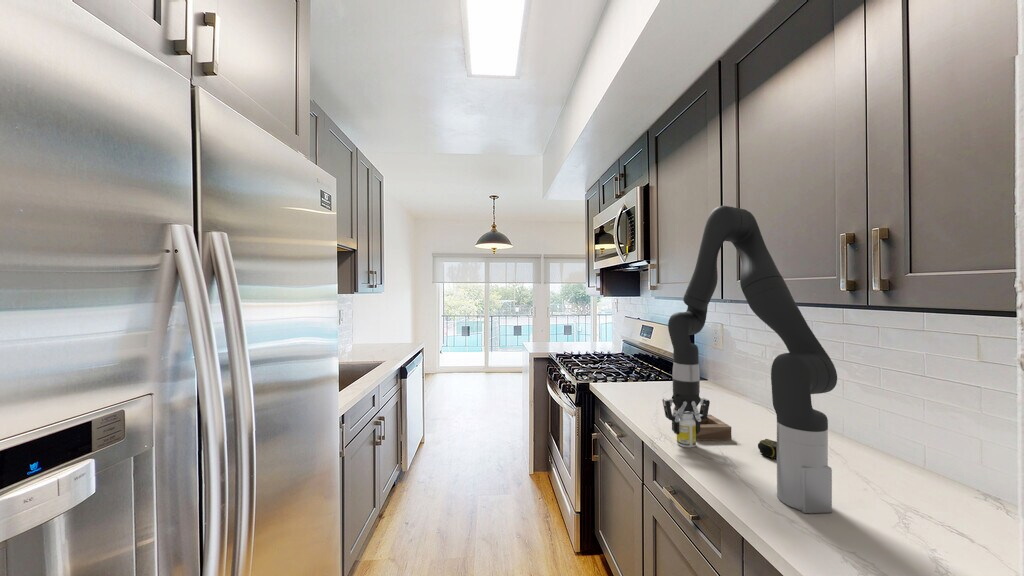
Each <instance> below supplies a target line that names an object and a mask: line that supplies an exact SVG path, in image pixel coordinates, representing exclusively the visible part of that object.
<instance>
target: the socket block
mask: <svg viewBox="0 0 1024 576" xmlns="http://www.w3.org/2000/svg"><path fill="white" fill-rule="evenodd" d="M692 419H693V420H694V418H692ZM724 440H725V441H727V440H730V441H731V440H732V426H731V425H729V424H727V423H726V422H724V421H723V420H721V419H719V418H717V417H716V416H714V415H712V414H708V415H707V419H706V420H704V419H703V420H701V421H700V432H699V434H696V441H724Z"/></svg>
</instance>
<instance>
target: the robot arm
mask: <svg viewBox="0 0 1024 576" xmlns="http://www.w3.org/2000/svg"><path fill="white" fill-rule="evenodd" d="M700 242H701V243H700V246H699V250H698V254H697V255H698V256H697V259H696V263H695V266H694V271H693V273H692V276H691V278H690V281H689V283H688V284H687V285H688V286H687V288H686V291H685V292H684V295H683V303H684V304H685V305H686V306H687V308H686V311H681V312H679V311H678V312H675V313H673V314H672V315H670V317H669V319H668V323H667V329H668V333H669V337H670V342H671V344H672V349H673V363H672V364H673V365H672V396H671V398H662V406H663V410H664V415H665V418H667V419H668V420H669V421H671V430H672V432H673V433H674V434H675V435H677V434H679V422H678V421H679V418H680V416H681V415H682V414H683V412H687V411H689V412H692V413H693V418H694V421H695V423H696V434H699V432H700V421H701V420H703V419H704V420H706V419H707V415H709V408H710V404H711V403H710V402H711V401H710V400H709V399H707V398H706V397H705V398H704V397H702V398H701V397H700V388H701V387H700V380H701V379H700V378H701V377H700V375H701V374H700V373H701V372H700V366H699V363H700V362H699V358H700V357H699V348H698V347H699V346H698V345H697V344H695V343H692V342H691V338H690V336H693V335H697V334H699V333H700V332H701V331H702V330H703V328H704V327H705V325H706V321H707V316H708V315H707V314H708V309H709V307H708V306H709V304H710V302H711V300H712V297H713V295H714V293H715V290H716V288H717V284H718V280H719V279H718V276H719V275H718V256H719V253H720V251H721V247H722V246H723V244H724V242H731V244H732V245H733V246H734V248H735V249H736V251H737V254H738V255H739V259H740V262H741V267H740V268H741V270H740V277H739V284H740V288H741V290H742V294H743V295H744V298H745V300H746V302H747V304H748V306H749V308H750V309H751V311H752V312H753V314H754V315H756V316H757V318H759V320H761V321H762V322H763V323H764V324H765V325H767V326H768V327H769V328H770V329H771V330H773V332H775V333H776V334H777V335H778V337H779V338H780V339H781V340H782V342H783V343H784V345H785V347H786V348H787V350H788V352H784V353H781V354H778V355H776V356H775V358H774V360H773V361H772V364H771V368H770V381H771V383H770V385H771V395H772V396H771V397H772V398H771V400H772V406H773V409H774V411H775V415H776V442H777V458H776V497H777V499H778V500H779V501H780V502H782V503H783V504H785V505H787V506H788V507H790V508H793V509H796V510H799V511H800V512H802V513H804V514H815V513H816V514H820V513H822V514H823V513H826V514H827V513H832V512H833V479H832V478H833V475H832V474H833V469H832V467H831V466H829V462H828V461H829V448H828V447H829V435H828V434H829V420H828V417H827V415H826V414H825V413H823V412H821V411H819V410H817V409H814V408H813V404H812V395H818V394H827V393H830V392H831V391H833V390H834V388H835V387H836V386H837V383H838V373H837V369H836V367H835V364H834V362H833V361H832V359H831V357H830V356H829V354H828V353H827V351H826V350H825V349H824V347H823V345H822V344H821V343H820V341H819V340H818V339H817V337H816V335H815V334H814V332H813V331H812V329H811V328H810V325H809V324H808V322H807V321H806V318H805V317H804V316H803V314H802V312H801V310H800V309H799V306H798V305H797V302H796V301H795V299H794V297H793V295H792V293H791V290H790V289H789V287H788V285H787V284H786V281H785V279H784V278H783V277H784V276H782V274H781V273H780V271H779V269H778V266H777V265H776V263H775V261H774V259H773V257H772V255H771V254H770V251H769V250H768V248H767V245H766V243H765V241H764V238H763V235H762V233H761V230H760V227H759V225H758V222H757V219H756V218H755V216H754V214H753V213H752V212H751V211H748V210H747V209H743V208H739V207H733V206H730V205H719V206H717V207H715V208H714V209H713V210H712V211H711V213H709V215H708V217H707V220H706V222H705V226H704V229H703V233H702V237H701V241H700ZM699 404H700V408H699V409H698V405H699ZM673 405H674V407H673V410H672V408H671V407H672V406H673Z"/></svg>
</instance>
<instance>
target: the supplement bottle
mask: <svg viewBox="0 0 1024 576" xmlns="http://www.w3.org/2000/svg"><path fill="white" fill-rule="evenodd" d="M692 418H693V413H692V412H689V411H687V412H683V414H682V415H681V416H680V418H679V421H678V422H679V434H676V444H677V445H678V446H681V447H682V448H694V447H696V446H697V440H696V423H695V421H694V420H693V419H692Z"/></svg>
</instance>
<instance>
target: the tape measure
mask: <svg viewBox="0 0 1024 576" xmlns="http://www.w3.org/2000/svg"><path fill="white" fill-rule="evenodd" d="M757 448H758V451H759V453H760V454H762V455H764V456H766V457H767V458H768V457H769V458H772V459H777V440H771V439H769V438H765V439H761V440H759V442H758V443H757Z"/></svg>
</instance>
